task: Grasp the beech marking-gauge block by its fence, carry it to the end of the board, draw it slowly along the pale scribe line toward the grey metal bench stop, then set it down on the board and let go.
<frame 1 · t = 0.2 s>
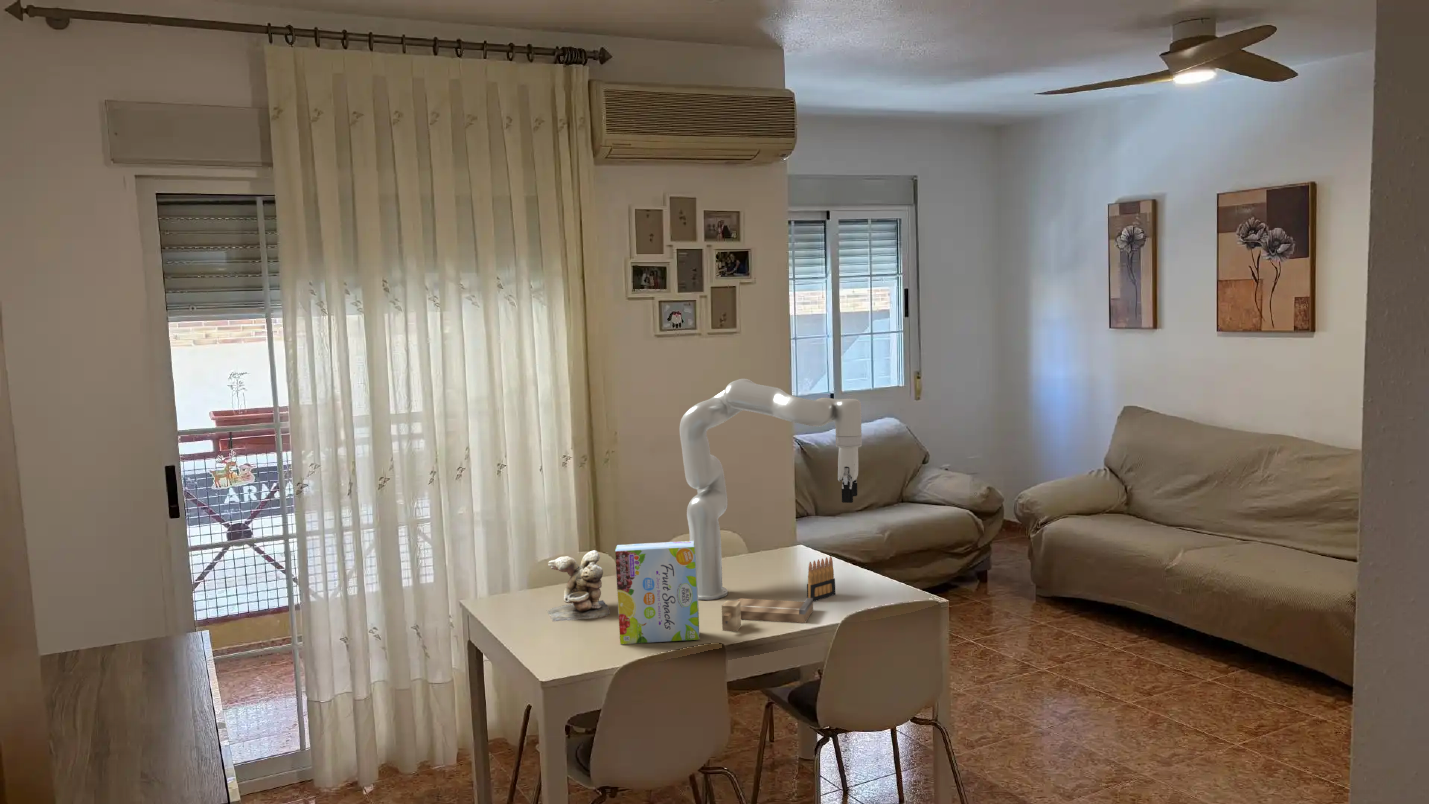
hand: (849, 499, 313), 31 cm above the table, tool pointing down, fingers open, 9 cm apart
board: (771, 614, 307), on the table
gauge: (731, 628, 296), on the table
cherub figurine: (578, 611, 316), on the table
ammunition clip: (821, 598, 322), on the table
snack box: (659, 638, 289), on the table
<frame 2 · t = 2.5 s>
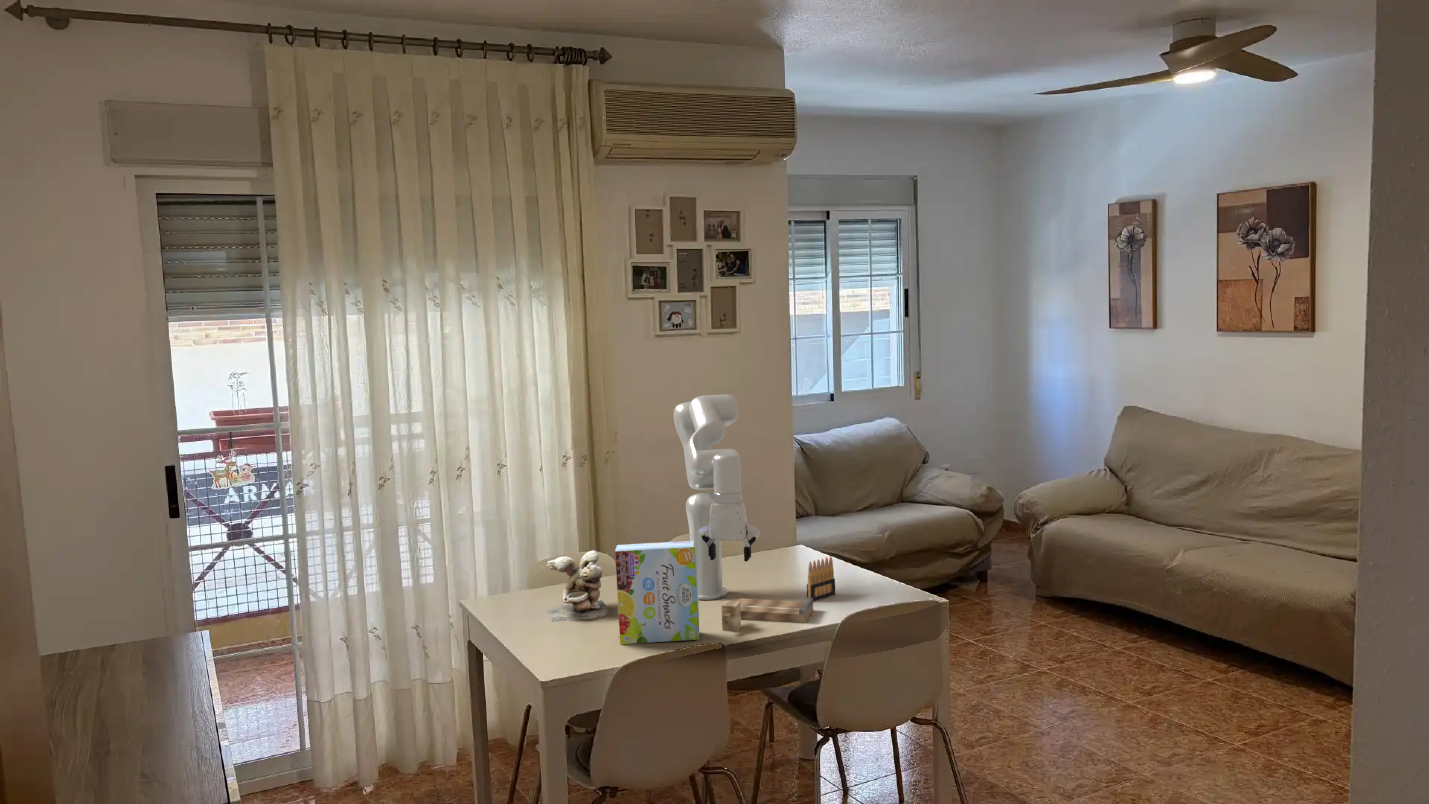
hand: (729, 559, 293), 19 cm above the table, tool pointing down, fingers open, 9 cm apart
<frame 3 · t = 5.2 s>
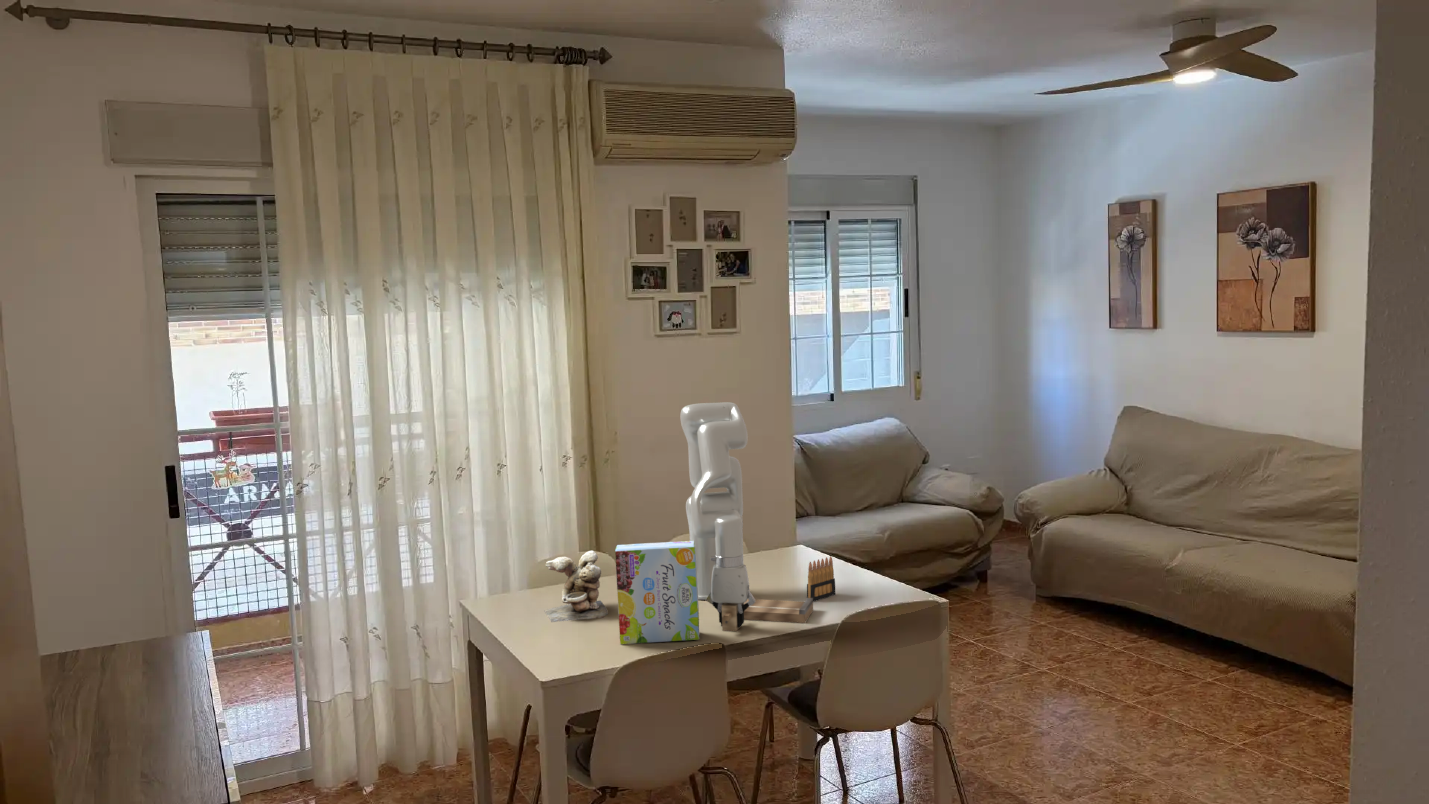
hand: (731, 625, 295), 1 cm above the table, tool pointing down, fingers closed on gauge, 4 cm apart
gauge: (731, 628, 295), on the table, touching gripper
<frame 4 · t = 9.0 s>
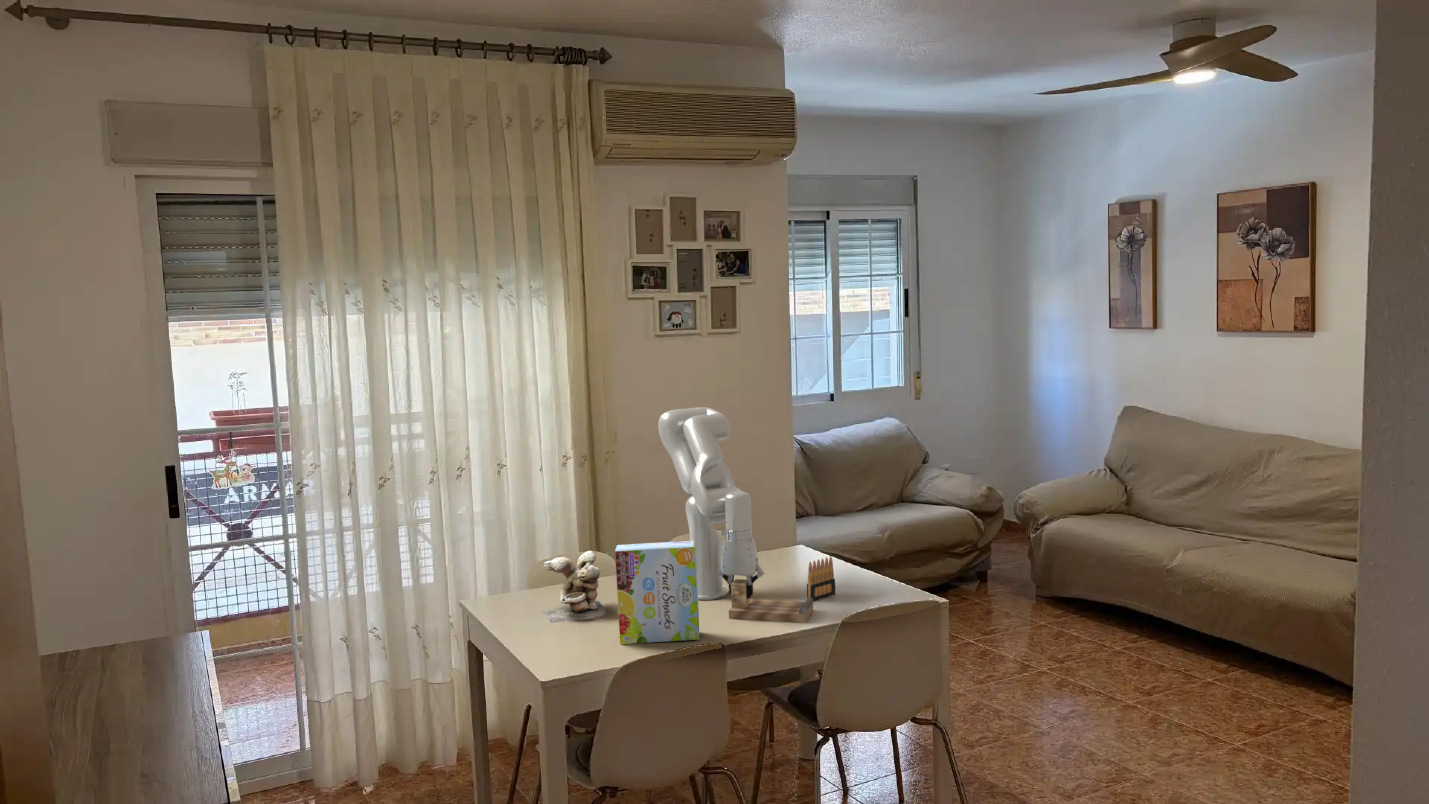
hand: (741, 596, 308), 5 cm above the table, tool pointing down, fingers closed on gauge, 4 cm apart
gauge: (740, 605, 308), point 2 cm above the table, touching board, gripper
when the fingers open (4 cm above the table, at t = 12.9 s): gauge stays where it is, resting on board.
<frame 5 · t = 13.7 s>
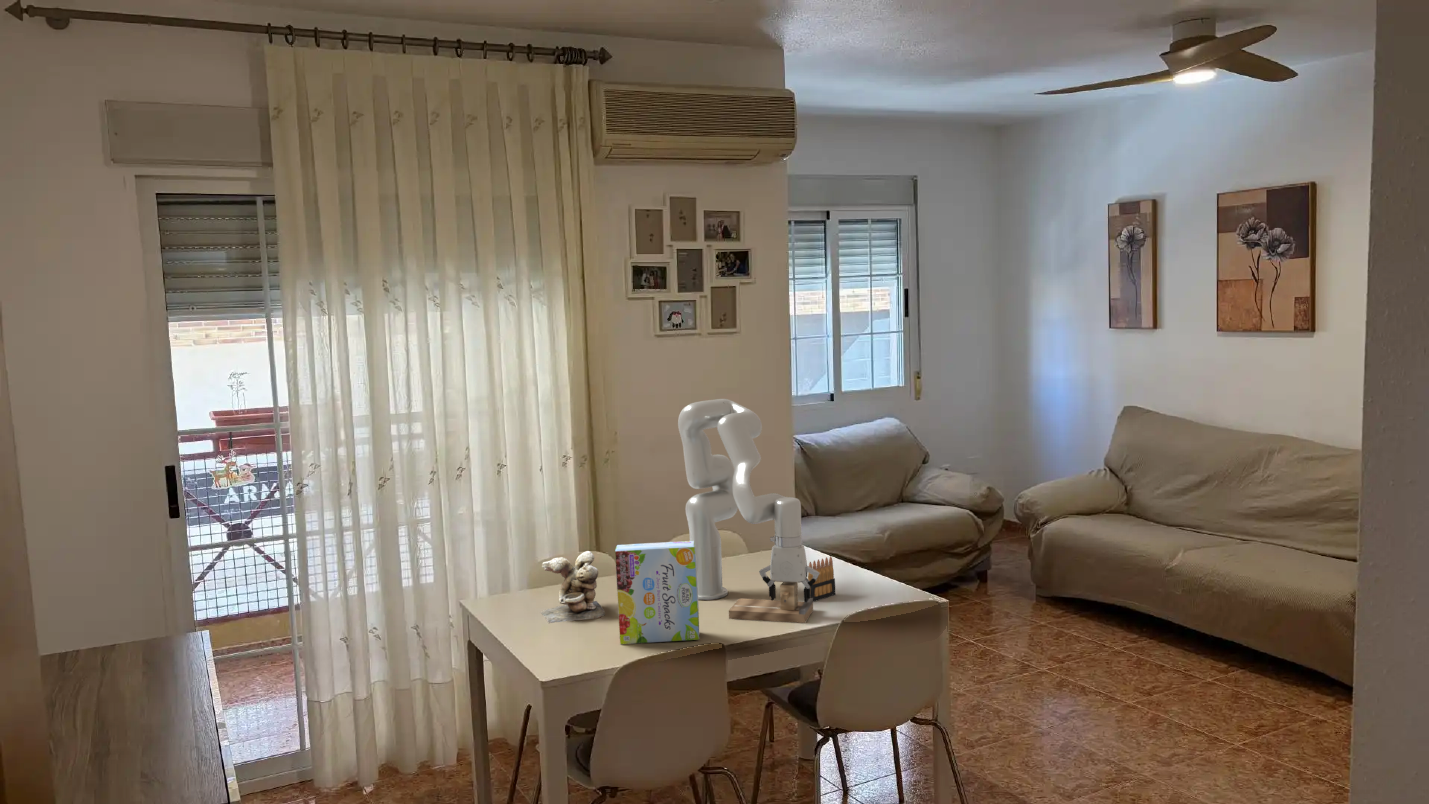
hand: (789, 600, 305), 5 cm above the table, tool pointing down, fingers open, 9 cm apart
gauge: (789, 607, 304), point 2 cm above the table, touching board
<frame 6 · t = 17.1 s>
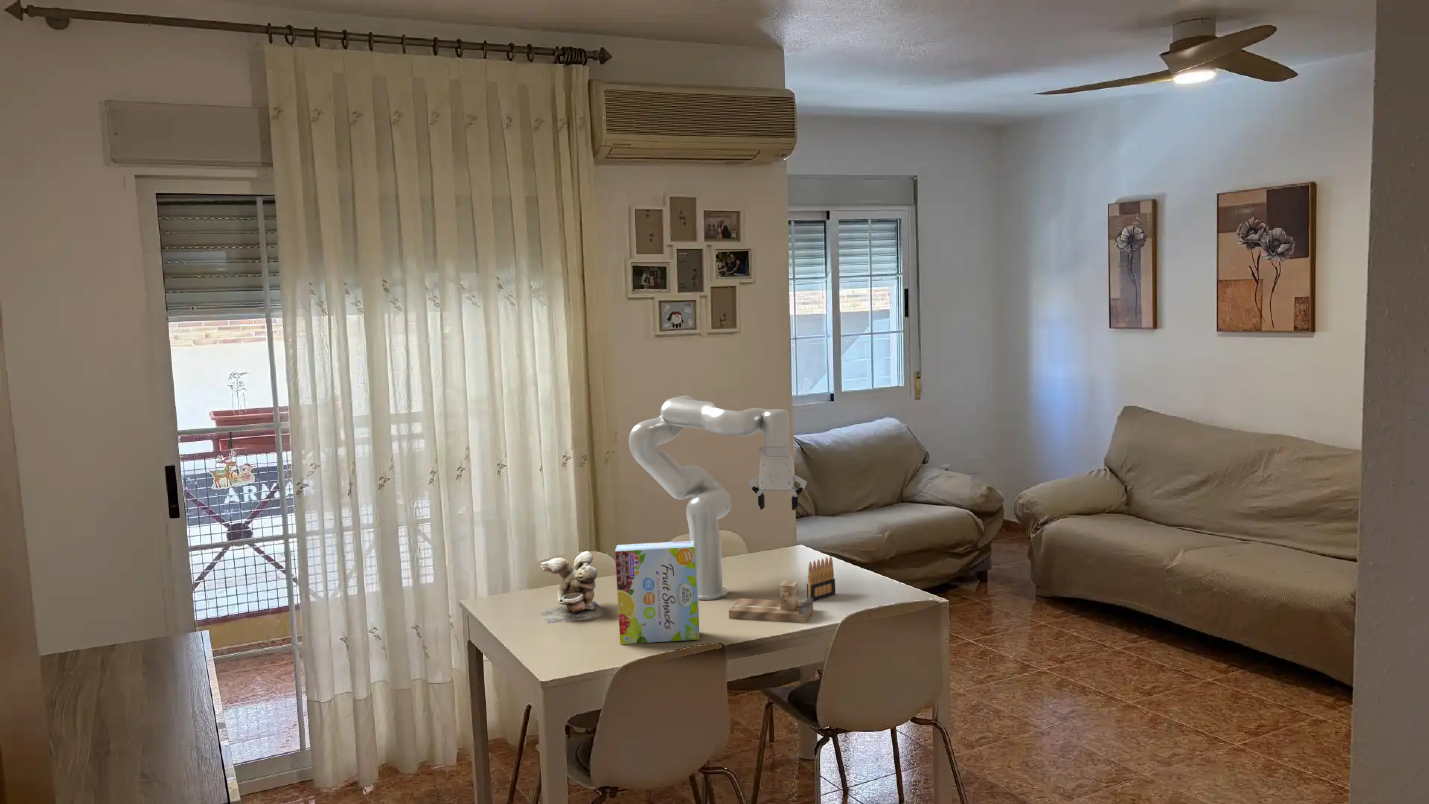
hand: (778, 508, 315), 28 cm above the table, tool pointing down, fingers open, 9 cm apart
at the end: gauge inside the target area on the board (0.7 cm from its centre), point 2.5 cm above the board's base; gauge tilted 1°; the gripper is holding nothing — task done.
